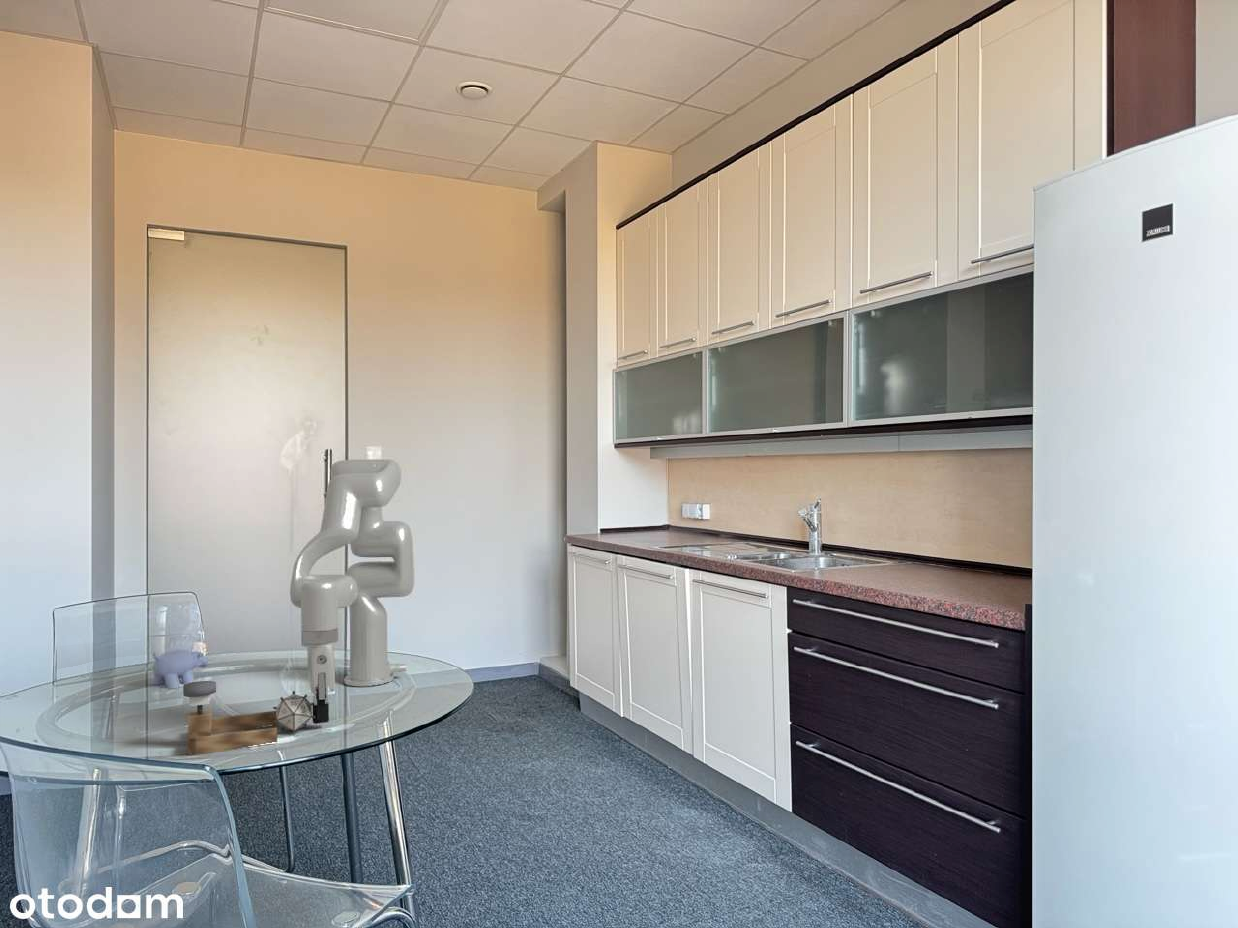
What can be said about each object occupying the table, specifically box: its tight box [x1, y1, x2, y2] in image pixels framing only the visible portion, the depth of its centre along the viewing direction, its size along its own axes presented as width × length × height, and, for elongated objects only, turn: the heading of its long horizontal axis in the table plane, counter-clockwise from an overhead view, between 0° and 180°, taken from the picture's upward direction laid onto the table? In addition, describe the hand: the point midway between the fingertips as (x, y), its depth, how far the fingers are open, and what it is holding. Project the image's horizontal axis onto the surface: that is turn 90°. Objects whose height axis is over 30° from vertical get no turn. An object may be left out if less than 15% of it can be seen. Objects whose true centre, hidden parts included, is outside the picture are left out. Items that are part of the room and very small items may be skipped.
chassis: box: [187, 705, 278, 756], centre depth 171 cm, size 16×14×8 cm
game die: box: [272, 690, 315, 735], centre depth 176 cm, size 9×8×10 cm
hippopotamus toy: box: [151, 649, 211, 690], centre depth 219 cm, size 11×15×10 cm
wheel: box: [182, 680, 217, 707], centre depth 169 cm, size 6×6×4 cm
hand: (320, 721), depth 178 cm, fingers closed
